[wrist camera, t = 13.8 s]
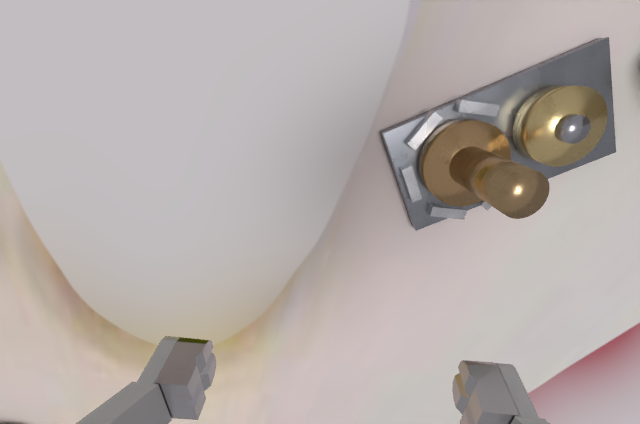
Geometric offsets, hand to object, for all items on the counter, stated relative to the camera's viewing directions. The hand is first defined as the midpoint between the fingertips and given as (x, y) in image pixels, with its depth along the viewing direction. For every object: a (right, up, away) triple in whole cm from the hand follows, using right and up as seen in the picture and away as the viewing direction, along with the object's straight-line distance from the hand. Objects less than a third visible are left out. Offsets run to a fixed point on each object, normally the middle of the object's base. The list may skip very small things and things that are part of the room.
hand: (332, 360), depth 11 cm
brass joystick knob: (+13, +10, +22) cm, 27 cm away
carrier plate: (+17, +12, +22) cm, 31 cm away
